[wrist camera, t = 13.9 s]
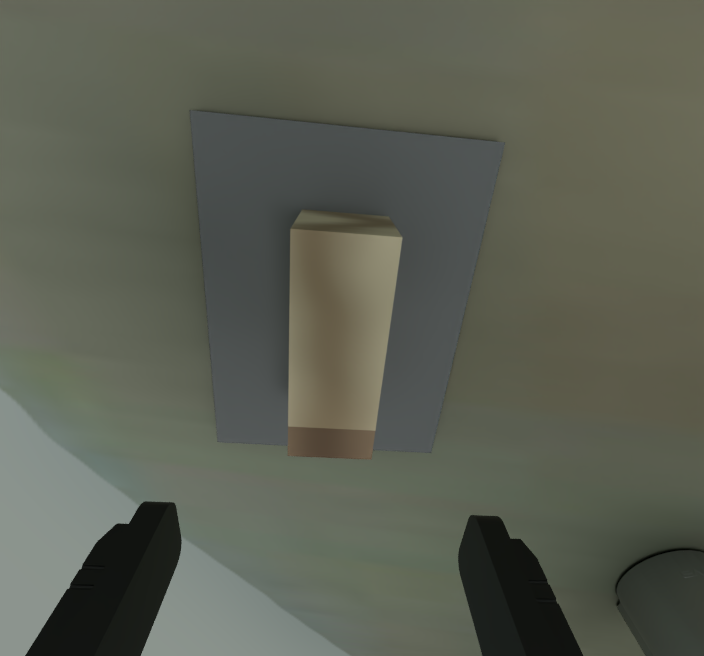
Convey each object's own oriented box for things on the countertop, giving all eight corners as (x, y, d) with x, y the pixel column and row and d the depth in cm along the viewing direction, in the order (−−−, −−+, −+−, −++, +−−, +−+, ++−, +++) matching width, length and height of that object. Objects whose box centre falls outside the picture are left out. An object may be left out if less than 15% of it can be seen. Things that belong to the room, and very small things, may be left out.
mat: (429, 446, 28) (431, 452, 27) (220, 436, 27) (217, 442, 26) (500, 142, 19) (505, 142, 18) (194, 110, 18) (189, 110, 17)
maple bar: (388, 216, 20) (402, 237, 15) (366, 402, 25) (371, 459, 20) (302, 209, 19) (290, 228, 15) (297, 399, 25) (287, 455, 20)
